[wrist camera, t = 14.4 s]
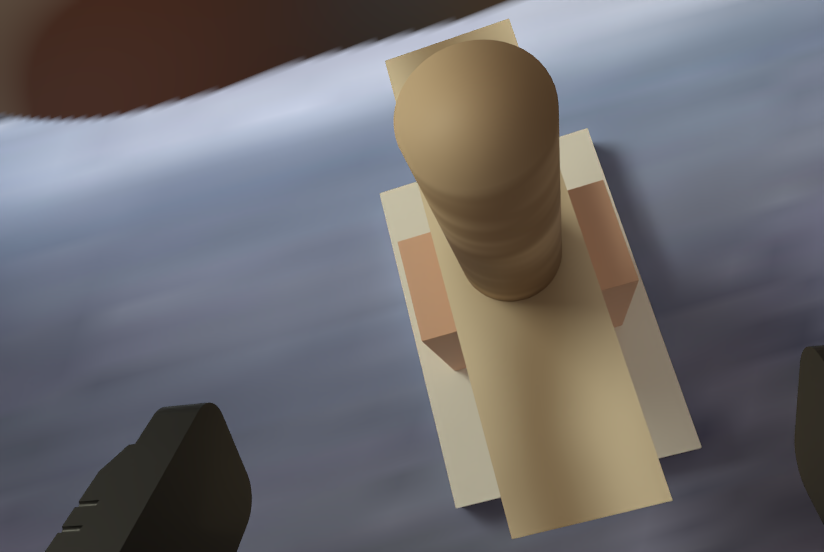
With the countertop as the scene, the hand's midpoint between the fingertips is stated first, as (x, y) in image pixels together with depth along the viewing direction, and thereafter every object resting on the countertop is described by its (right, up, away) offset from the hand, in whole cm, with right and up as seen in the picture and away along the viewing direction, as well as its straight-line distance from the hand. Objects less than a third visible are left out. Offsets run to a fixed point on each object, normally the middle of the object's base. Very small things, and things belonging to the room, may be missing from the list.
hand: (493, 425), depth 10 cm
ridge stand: (+5, 0, +25) cm, 25 cm away
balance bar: (+3, +2, +16) cm, 16 cm away
